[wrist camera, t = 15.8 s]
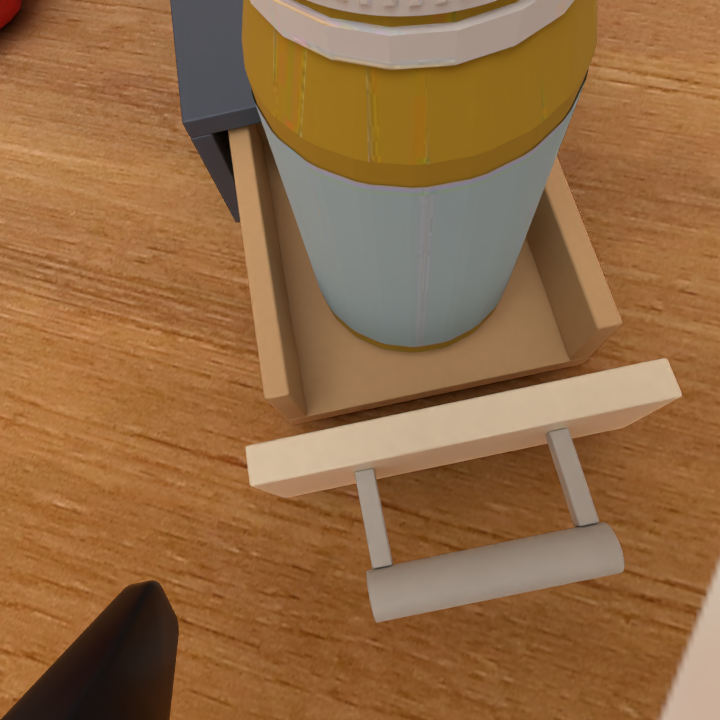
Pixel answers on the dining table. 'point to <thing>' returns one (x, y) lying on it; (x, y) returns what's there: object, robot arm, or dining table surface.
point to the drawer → (437, 376)
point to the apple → (8, 10)
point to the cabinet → (213, 83)
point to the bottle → (415, 146)
